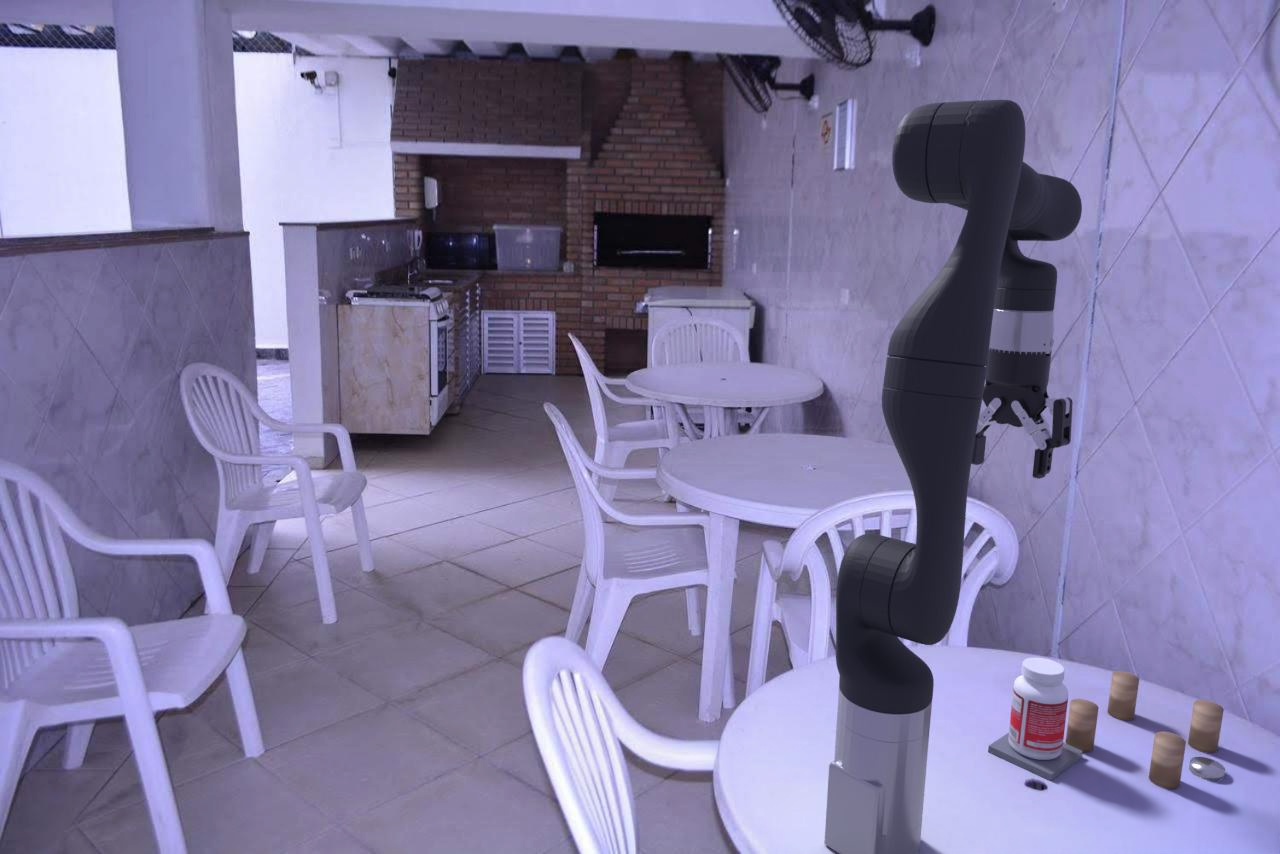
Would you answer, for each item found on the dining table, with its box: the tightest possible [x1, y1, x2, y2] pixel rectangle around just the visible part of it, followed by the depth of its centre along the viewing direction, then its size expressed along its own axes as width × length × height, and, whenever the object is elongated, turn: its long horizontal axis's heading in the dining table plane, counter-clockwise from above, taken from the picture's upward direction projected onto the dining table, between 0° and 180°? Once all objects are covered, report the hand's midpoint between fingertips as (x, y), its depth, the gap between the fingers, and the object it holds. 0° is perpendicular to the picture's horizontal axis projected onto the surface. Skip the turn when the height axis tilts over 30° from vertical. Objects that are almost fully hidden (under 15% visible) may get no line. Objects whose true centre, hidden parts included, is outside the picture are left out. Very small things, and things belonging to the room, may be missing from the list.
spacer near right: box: [1065, 698, 1099, 753], centre depth 115 cm, size 3×3×6 cm
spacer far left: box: [1187, 699, 1224, 754], centre depth 116 cm, size 3×3×6 cm
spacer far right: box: [1107, 670, 1140, 722], centre depth 123 cm, size 3×3×6 cm
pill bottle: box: [1008, 657, 1069, 760], centre depth 112 cm, size 6×6×11 cm
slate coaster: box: [987, 732, 1084, 781], centre depth 114 cm, size 8×8×1 cm
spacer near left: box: [1148, 731, 1187, 790], centre depth 108 cm, size 3×3×6 cm
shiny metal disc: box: [1188, 756, 1226, 782], centre depth 110 cm, size 4×4×1 cm
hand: (1007, 470), depth 119 cm, fingers open, 8 cm apart
